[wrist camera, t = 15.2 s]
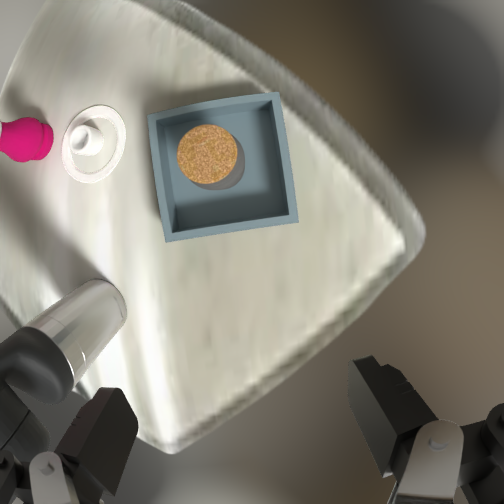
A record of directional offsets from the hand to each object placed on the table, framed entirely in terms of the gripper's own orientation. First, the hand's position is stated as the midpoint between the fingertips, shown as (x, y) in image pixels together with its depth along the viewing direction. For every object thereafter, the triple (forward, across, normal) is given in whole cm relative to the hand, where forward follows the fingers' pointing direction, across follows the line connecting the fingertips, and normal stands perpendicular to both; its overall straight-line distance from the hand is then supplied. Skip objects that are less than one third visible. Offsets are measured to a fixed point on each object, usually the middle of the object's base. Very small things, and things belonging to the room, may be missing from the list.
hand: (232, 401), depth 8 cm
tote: (+30, 0, -10) cm, 32 cm away
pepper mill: (+31, +30, -23) cm, 49 cm away
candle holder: (+31, +19, -19) cm, 41 cm away
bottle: (+29, 0, -10) cm, 31 cm away
